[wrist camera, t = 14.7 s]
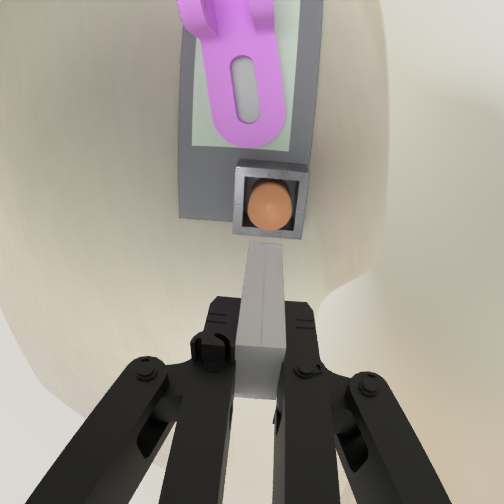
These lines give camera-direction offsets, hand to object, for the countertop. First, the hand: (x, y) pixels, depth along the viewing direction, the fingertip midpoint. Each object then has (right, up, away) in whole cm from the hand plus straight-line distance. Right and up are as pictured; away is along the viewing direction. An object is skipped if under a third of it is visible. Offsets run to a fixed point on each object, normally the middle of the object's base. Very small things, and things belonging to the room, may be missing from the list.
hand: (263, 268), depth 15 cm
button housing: (+1, +6, +12) cm, 13 cm away
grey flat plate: (-1, +13, +9) cm, 15 cm away
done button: (+1, +6, +11) cm, 13 cm away
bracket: (-1, +15, +7) cm, 17 cm away
